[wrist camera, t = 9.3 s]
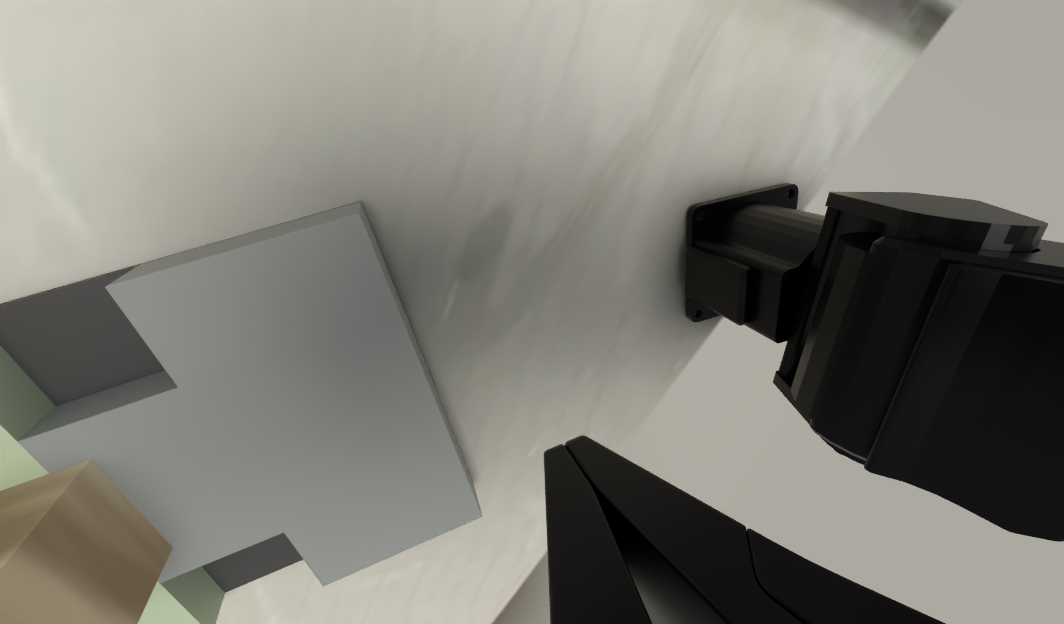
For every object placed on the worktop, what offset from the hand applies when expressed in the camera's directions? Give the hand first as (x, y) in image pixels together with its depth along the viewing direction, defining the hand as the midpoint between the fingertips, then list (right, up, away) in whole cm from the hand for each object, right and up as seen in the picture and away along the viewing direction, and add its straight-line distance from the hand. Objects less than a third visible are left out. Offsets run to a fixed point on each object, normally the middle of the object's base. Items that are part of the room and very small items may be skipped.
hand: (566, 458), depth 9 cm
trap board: (-14, -3, +11) cm, 18 cm away
